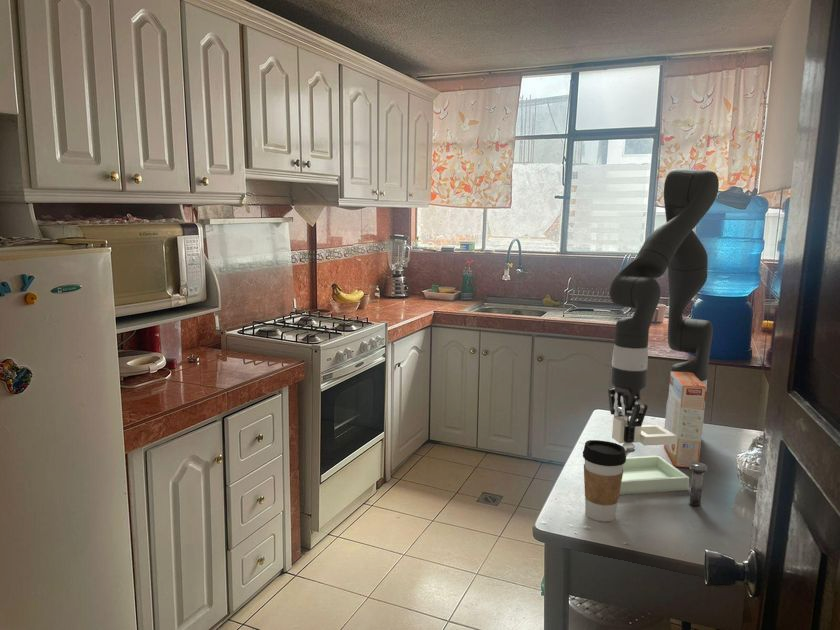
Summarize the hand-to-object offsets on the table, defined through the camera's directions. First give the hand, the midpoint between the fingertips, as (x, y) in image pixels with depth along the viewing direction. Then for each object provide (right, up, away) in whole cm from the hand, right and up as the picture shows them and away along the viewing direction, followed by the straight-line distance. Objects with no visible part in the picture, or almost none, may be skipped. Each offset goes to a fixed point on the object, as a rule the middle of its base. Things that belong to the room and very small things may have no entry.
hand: (624, 438), depth 139 cm
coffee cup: (-9, -13, -14) cm, 21 cm away
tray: (+4, -10, +3) cm, 11 cm away
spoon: (+6, -8, +19) cm, 21 cm away
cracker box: (+20, -8, +16) cm, 27 cm away
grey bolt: (+12, -12, -9) cm, 19 cm away
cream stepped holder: (+4, 0, +1) cm, 4 cm away
